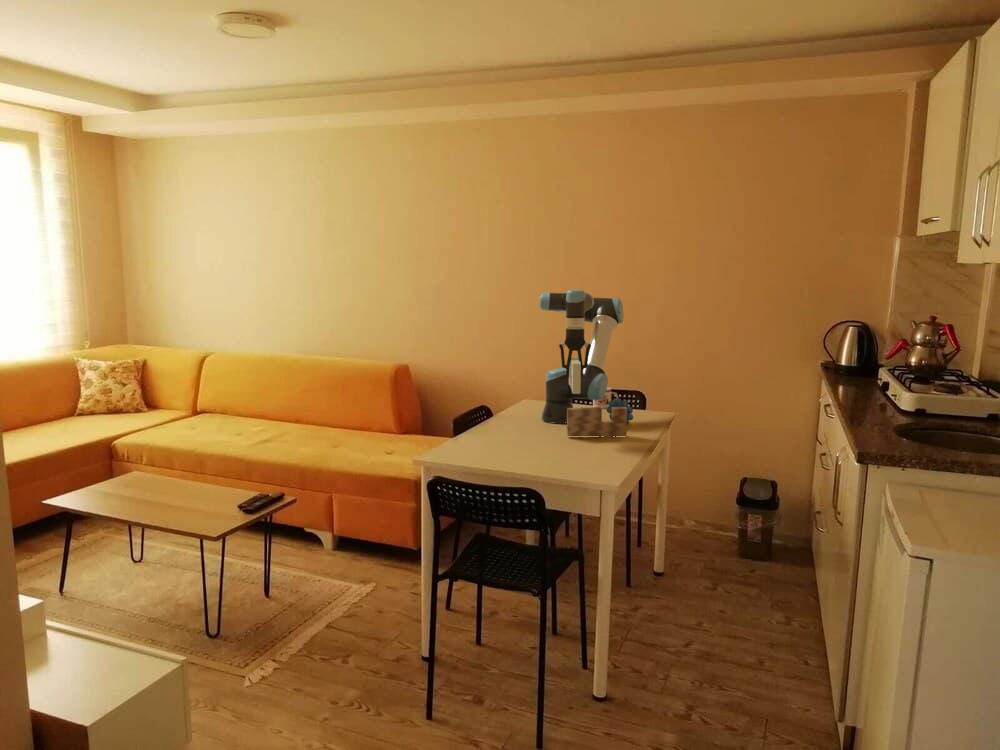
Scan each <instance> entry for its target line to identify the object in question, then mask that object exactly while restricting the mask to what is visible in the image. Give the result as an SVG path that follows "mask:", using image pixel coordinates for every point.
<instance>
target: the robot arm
mask: <svg viewBox="0 0 1000 750" xmlns="http://www.w3.org/2000/svg"><path fill="white" fill-rule="evenodd" d="M539 307H540V309H541V310H543V311H548V312H549V311H550V312H551V311H552V312H553V311H554V312H557V313H562V314H565V328H566V329H565V340H564V342H562V343H559V344H558V347H559V349H560V359H561V367H560V368H553V369H550V370H548V371H546V376H545V403H544V404H545V405H544V407H543V411H542V414H541V420H542V421H543V420H544V421H543V422H545V421H548V422H555V423H554V424H566V423H565V422H567V408H574V406H573V399H580V400H589V401H593V400H600V399H601V398H603V396H604V395H605V393H606V390H607V386H608V382H609V379H608V376H607V374H606V372H605V370H604V367H605V365H606V364H605V363H606V359H607V355H608V352H609V348H610V342H611V338H612V334H613V331H614V330H616V329H617V328H618V325H619V324H623V321H624V305H623V302H622V300H621V299H620V298H614V297H593V296H592V295H591V294H590V293H587V292H585V291H584V290H583V289H568V290H567V291H566V292H542V293H541V295H540V296H539ZM585 322H587V323H592V325H593V331H592V334H591V338H590V341H589V343H588V342H586V339H585V329H584V328H585ZM565 347H567V349H568V354H567V359H565ZM584 347H585V354H584V364H583V359H582V348H584ZM574 351H576V352H577V358H578V359H579V361H580V363H581V383H580V394H573V393H572V389H571V387H570V385H571V358H572V356H573V355H572V354H573V352H574ZM565 360H566V361H565ZM548 422H547V423H548Z"/></svg>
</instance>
